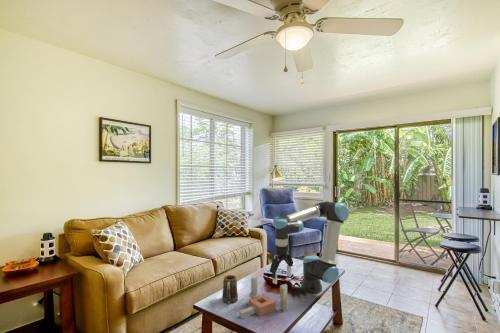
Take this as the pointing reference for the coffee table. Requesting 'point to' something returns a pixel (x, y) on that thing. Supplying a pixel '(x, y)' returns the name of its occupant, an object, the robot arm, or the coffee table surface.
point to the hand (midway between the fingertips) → (282, 279)
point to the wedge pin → (283, 297)
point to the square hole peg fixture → (257, 302)
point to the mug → (230, 289)
